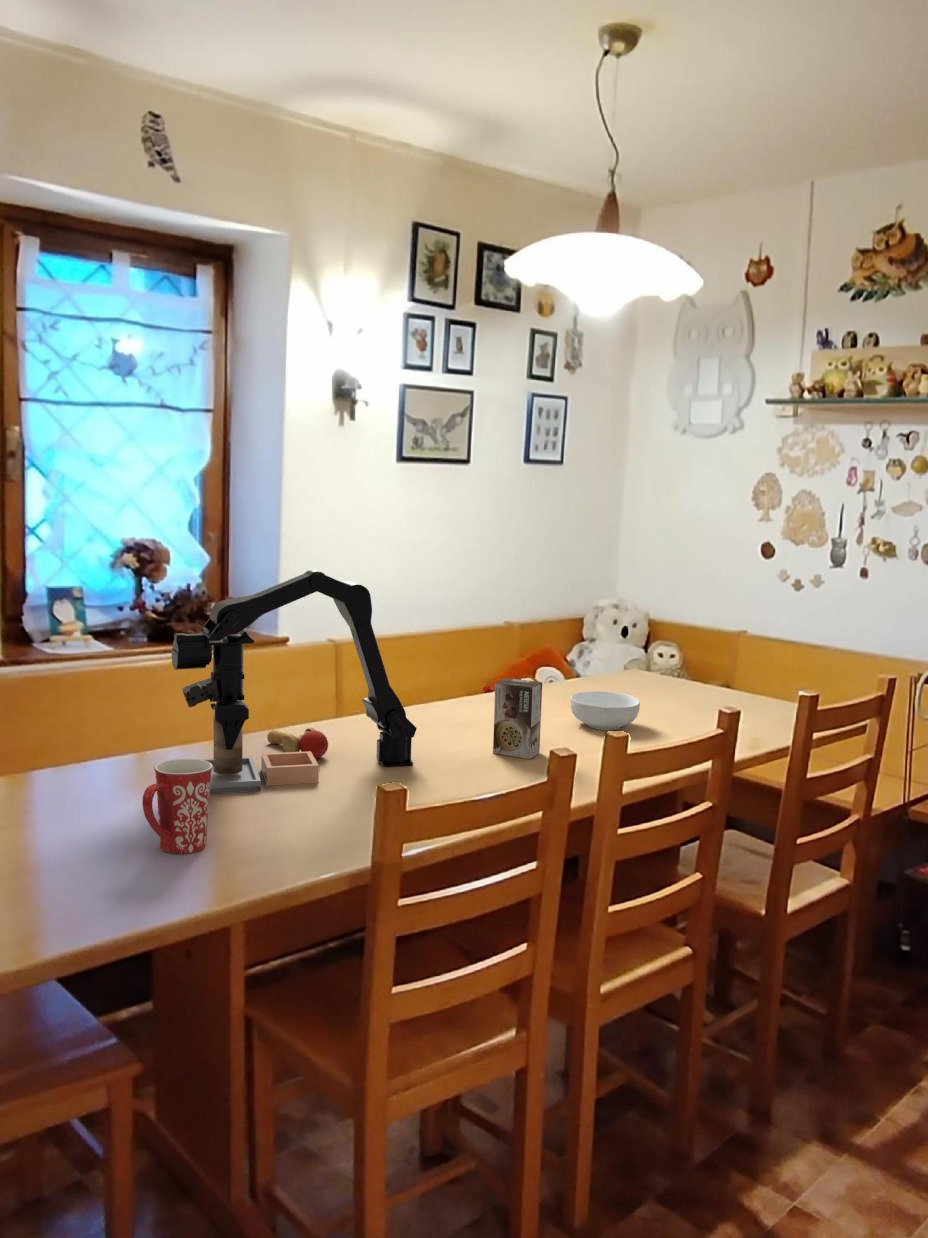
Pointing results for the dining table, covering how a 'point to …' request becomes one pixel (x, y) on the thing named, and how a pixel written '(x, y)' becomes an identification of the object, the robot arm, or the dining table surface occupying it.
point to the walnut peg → (226, 752)
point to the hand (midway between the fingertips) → (228, 745)
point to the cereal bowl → (604, 709)
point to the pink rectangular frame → (289, 768)
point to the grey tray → (236, 779)
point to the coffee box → (517, 718)
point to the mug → (180, 804)
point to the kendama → (301, 742)
